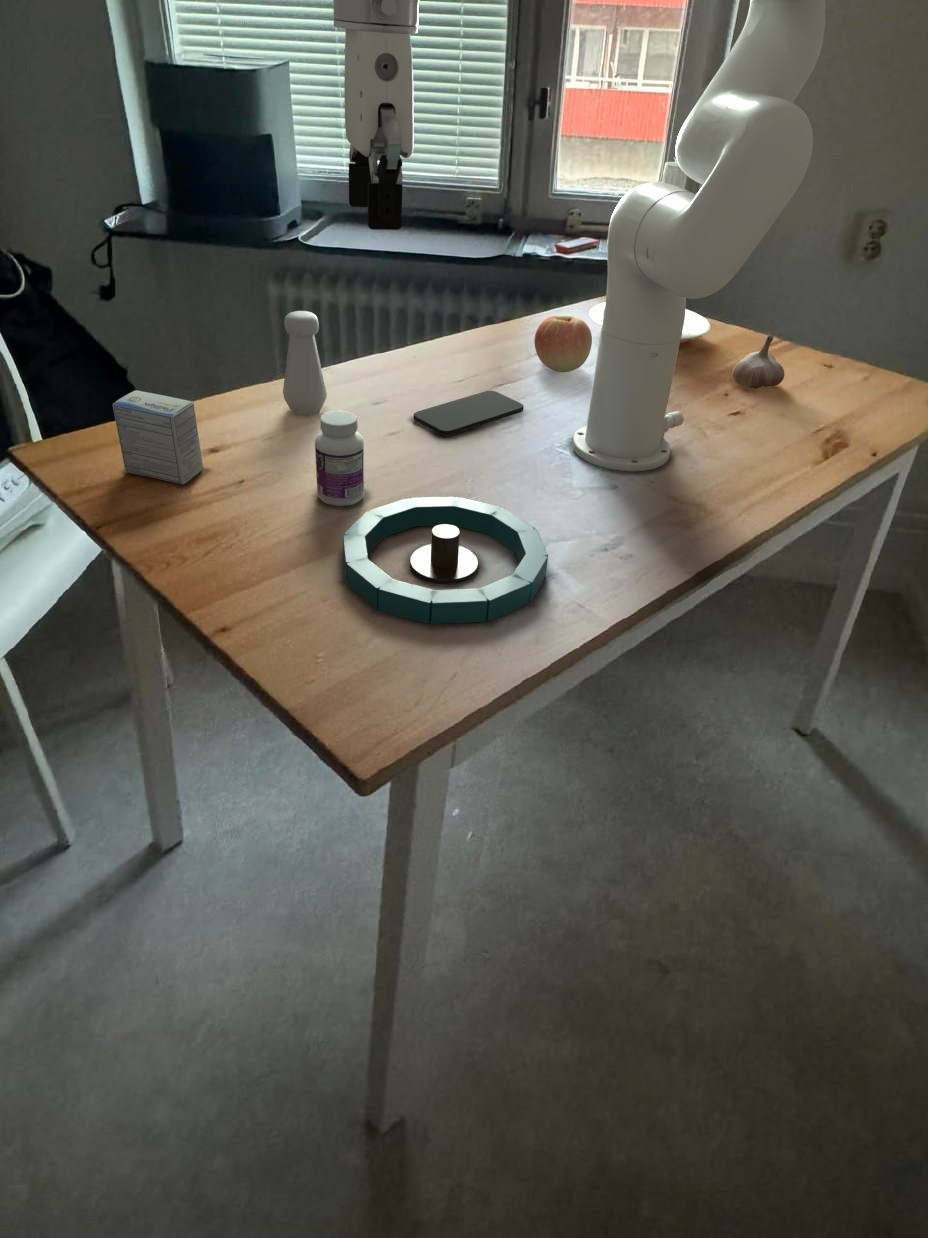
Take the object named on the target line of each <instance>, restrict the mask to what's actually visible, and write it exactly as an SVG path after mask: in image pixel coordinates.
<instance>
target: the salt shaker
mask: <svg viewBox="0 0 928 1238" xmlns="http://www.w3.org/2000/svg"><path fill="white" fill-rule="evenodd" d="M283 323H284V329H285V332H286V333H287V334H289V338H288V346H287V353H286V354H287V355H286V361H285V371H284V379H283V388H282V394H283V395H282V396H283V398H284V401H285V402H286V405H287V406H288V408H289V410H290V411H291V413H292V414H293V415H294V416H297V417H298V416H299V417H305V418H308V417H312V416H316V415H317V416H318V415H320V412H321V410H322V408H323V406H324V405H325V402H326V400H327V397H328V392H327V389H326V384H325V380H324V375H323V370H322V366H321V361H320V356H319V351H318V346H317V341H316V337H315V336H316V334H317V333H318V332H319V329H320V325H319V323H320V322H319V319H318V317H317V315H316V313H313V312H311V311H307V310H295V311H291V312H289V313H287V315H286V316H284V322H283Z"/></svg>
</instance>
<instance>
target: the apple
mask: <svg viewBox="0 0 928 1238" xmlns="http://www.w3.org/2000/svg"><path fill="white" fill-rule="evenodd" d="M592 336H593V335H592V332H591V329H590V326H589V325H588V323H586V322H585V321H584V320H582V318H579V317H577V316H571V315H570V316H569V315H552V316H548V317H547V318H545V319H543V320H542V322H540V324H539V325H538V327H537V329H536V331H535V333H534V339H533V340H534V342H533V343H534V348H535V353H536V355H537V357H538V360H539V361H540V362H541V363H542V364H543V365H544V366H545V367H546V368H548V369H549V370H551V371H553V372H556V373H569V372H572V371H574V370H577V369H579V368H581V366H583V365H584V364H585V362H586V361H587V359H588V358H589V356H590V354H591V350H592V345H593V344H592V343H593V337H592Z"/></svg>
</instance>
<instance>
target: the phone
mask: <svg viewBox="0 0 928 1238" xmlns="http://www.w3.org/2000/svg"><path fill="white" fill-rule="evenodd" d="M524 407H525V406H524V404H523V403H521V402H520V401H517V400H515V399H513V398H511V397H509V396H507V395H504V394H502V393H500V392H498V391H495V390H485V391H481V392H478V393H475V394H471V395H468V396H464V397H461V398H458V399H454V400H452V401H447V402H445V403H442V404H437V405H434V406H431V407H428V408H424V409H420V410H417V411H415V412H414V413H413V420H414V421H415V422H416V423H418V424H420V425H422V426H424V427H426V428H427V429H429V430H431V431H433V432H435V434H438V435H441V436H445V437H446V436H447V437H449V436H453V435H456V434H459V433H462V432H466V431H469V430H471V429H475V428H477V427H481V426H484V425H487V424H490V423H493V422H496V421H500V420H503V419H505V418H508V417H512V416H514V415H517V414H521V413H522V412H524Z"/></svg>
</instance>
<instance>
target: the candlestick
mask: <svg viewBox="0 0 928 1238" xmlns="http://www.w3.org/2000/svg"><path fill="white" fill-rule="evenodd" d="M673 159H674V161H666V162H665V163H664V167H663V172H662V178H661V182H663V183H668V184H672V185H675V186H677V187H680V188H683V189H685V190H686V186H687V178H688V176H687V175H686V174H685V173H684V172H683V171H682V170H681V168H680V167H679V165H678V162H677V159H676V156H675V157H673ZM604 309H605V302H603V303H600V304H596V305H595V306H593V307H592V308H591V309H590V310H589V317H590V318H591V320H592V322H594V323H595V324H597V325H599V326H600V327H602V323H603V316H604ZM710 330H711V323H710V322H709V321H708V319H706V317H704V316H702V315H701V314H698V313H697V312H695V311H692V310H689V309H687V308H686V312H685V320H684V326H683V331H682V336H681V340H680V344H683V343H685V342H688V341H691V340H692V339H695V338H699V337H702V336H704V335H706V334H707V333H709V332H710Z"/></svg>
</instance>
